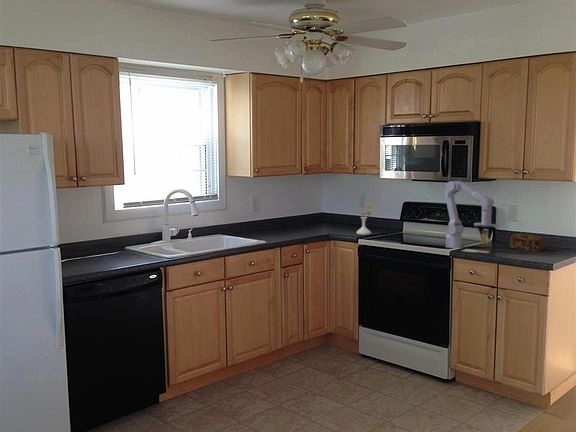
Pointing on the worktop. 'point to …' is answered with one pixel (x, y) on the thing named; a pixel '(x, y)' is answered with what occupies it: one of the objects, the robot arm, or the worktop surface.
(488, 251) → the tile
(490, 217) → the robot arm
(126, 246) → the worktop surface
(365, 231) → the flower in vase
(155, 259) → the worktop surface
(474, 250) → the mat
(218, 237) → the worktop surface
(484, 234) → the brown wooden box
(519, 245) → the bread
